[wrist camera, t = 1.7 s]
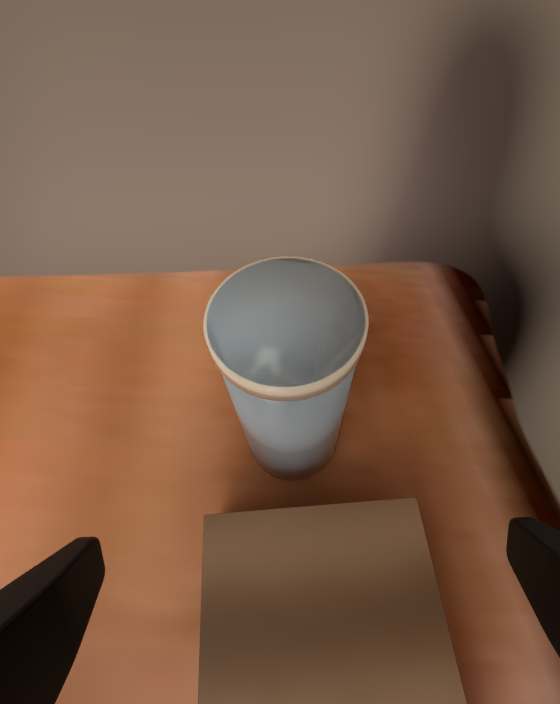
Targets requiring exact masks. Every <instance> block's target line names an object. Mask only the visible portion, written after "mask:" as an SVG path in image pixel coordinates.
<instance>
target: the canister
mask: <svg viewBox="0 0 560 704" xmlns="http://www.w3.org/2000/svg"><path fill="white" fill-rule="evenodd" d="M368 320H369V317H368V311H367V307H366V304H365V301H364V299H363V297H362V295H361V293H360V291H359V290H358V288H357V287H356V285H355V284H354V283H353V282H352V281H351V280H350V279H349V278H348V277H347V276H345V275H344V274H343V273H342V272H340V271H339V270H337V269H335V268H334V267H332V266H330V265H328V264H325V263H323V262H320V261H317V260H313V259H310V258H303V257H295V256H280V257H272V258H267V259H263V260H259V261H256V262H253V263H251V264H248V265H246V266H244V267H242V268H240V269H239V270H237V271H235V272H234V273H232V274H231V275H230V276H228V277H227V278H226V279H225V280H224V281H223V282H222V283H221V284H220V285H219V286H218V288H217V289H216V290H215V291H214V293H213V295H212V296H211V298H210V300H209V302H208V304H207V307H206V311H205V314H204V335H205V340H206V343H207V345H208V348H209V350H210V353H211V355H212V358H213V361H214V363H215V364H216V366H217V368H218V369H219V371H220V372H221V373H222V376H223V378H224V381H225V383H226V386H227V389H228V391H229V394H230V397H231V399H232V402H233V404H234V407H235V410H236V412H237V415H238V418H239V420H240V423H241V425H242V428H243V431H244V433H245V436H246V438H247V441H248V444H249V446H250V449H251V452H252V454H253V456H254V458H255V460H256V461H257V463H258V464H259V465H260V466H261V467H262V468H263V469H264V470H265V471H266V472H268V473H269V474H271V475H273V476H275V477H277V478H281V479H285V480H300V479H305V478H308V477H310V476H312V475H314V474H316V473H318V472H319V471H320V470H321V469H323V468H324V467H325V465H326V464H327V463H328V462H329V460H330V459H331V457H332V455H333V452H334V449H335V445H336V441H337V437H338V433H339V429H340V426H341V422H342V418H343V414H344V410H345V406H346V402H347V398H348V394H349V390H350V386H351V382H352V379H353V375H354V371H355V367H356V365H357V363H358V361H359V359H360V357H361V354H362V351H363V348H364V344H365V341H366V337H367V332H368Z"/></svg>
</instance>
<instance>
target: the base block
mask: <svg viewBox="0 0 560 704" xmlns="http://www.w3.org/2000/svg"><path fill="white" fill-rule="evenodd" d="M198 704H467V703H466V699H465V694H464V690H463V686H462V682H461V678H460V674H459V670H458V666H457V662H456V658H455V654H454V649H453V645H452V641H451V637H450V633H449V629H448V625H447V621H446V617H445V613H444V609H443V605H442V600H441V596H440V592H439V588H438V584H437V580H436V576H435V572H434V568H433V564H432V560H431V556H430V551H429V547H428V543H427V539H426V535H425V531H424V527H423V523H422V519H421V515H420V511H419V507H418V502H417V498H416V497H413V498H401V499H389V500H377V501H365V502H353V503H340V504H328V505H316V506H304V507H292V508H280V509H268V510H256V511H244V512H232V513H220V514H208V515H204V532H203V563H202V594H201V625H200V656H199V687H198Z"/></svg>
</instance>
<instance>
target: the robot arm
mask: <svg viewBox="0 0 560 704" xmlns="http://www.w3.org/2000/svg"><path fill="white" fill-rule="evenodd" d="M506 551H507V557H508V560H509V563H510V565H511V567H512V569H513V571H514V573H515V575H516V577H517V579H518V581H519V583H520V585H521V587H522V589H523V590H524V592H525V594H526V596H527V598H528V600H529V602H530V604H531V606H532V608H533V610H534V612H535V614H536V616H537V618H538V620H539V622H540V624H541V626H542V628H543V630H544V632H545V633H546V635H547V637H548V639H549V641H550V642H551V644H552V646H553V647H554V649H555V651H556V652H557V654H558V656H559V657H560V531H558V530H556V529H554V528H552V527H550V526H548V525H546V524H544V523H542V522H540V521H538V520H536V519H534V518H531V517H519V518H513V519H511V520H510V522H509V528H508V538H507V548H506ZM104 575H105V565H104V560H103V555H102V550H101V545H100V541H99V539H98V538H96V537H80V538H77V539H75V540H73V541H72V542H71V543H69V544H68V545H66V546H65V547H63V548H62V549H60V550H59V551H57V552H56V553H54V554H53V555H51V556H50V557H48V558H47V559H45V560H44V561H42V562H41V563H39V564H38V565H36V566H35V567H33V568H32V569H30V570H29V571H27V572H26V573H24V574H23V575H21V576H20V577H18V578H17V579H15V580H14V581H12V582H11V583H9V584H8V585H6V586H5V587H3V588H2V589H0V704H55V702H56V700H57V698H58V696H59V694H60V691H61V689H62V687H63V685H64V683H65V680H66V678H67V676H68V674H69V672H70V669H71V667H72V665H73V662H74V660H75V658H76V655H77V653H78V650H79V647H80V645H81V642H82V639H83V636H84V633H85V631H86V628H87V625H88V622H89V619H90V617H91V614H92V611H93V608H94V605H95V602H96V600H97V597H98V594H99V591H100V588H101V585H102V583H103V580H104Z"/></svg>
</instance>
